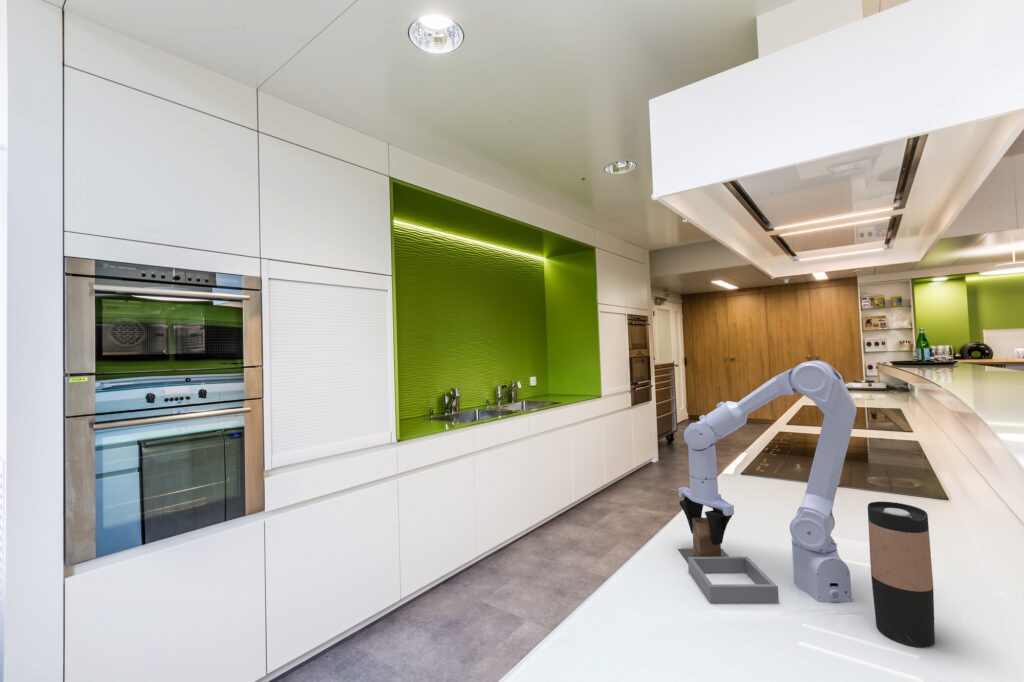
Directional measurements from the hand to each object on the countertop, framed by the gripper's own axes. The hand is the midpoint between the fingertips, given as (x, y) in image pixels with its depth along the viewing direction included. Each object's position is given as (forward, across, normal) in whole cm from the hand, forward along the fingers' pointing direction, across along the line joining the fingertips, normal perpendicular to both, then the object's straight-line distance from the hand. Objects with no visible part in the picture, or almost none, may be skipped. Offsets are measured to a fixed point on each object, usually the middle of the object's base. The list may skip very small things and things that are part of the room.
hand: (706, 538), depth 99 cm
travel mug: (+6, -32, -10) cm, 34 cm away
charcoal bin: (+5, -11, +5) cm, 13 cm away
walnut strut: (+4, 0, 0) cm, 4 cm away
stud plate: (+5, 0, 0) cm, 5 cm away
